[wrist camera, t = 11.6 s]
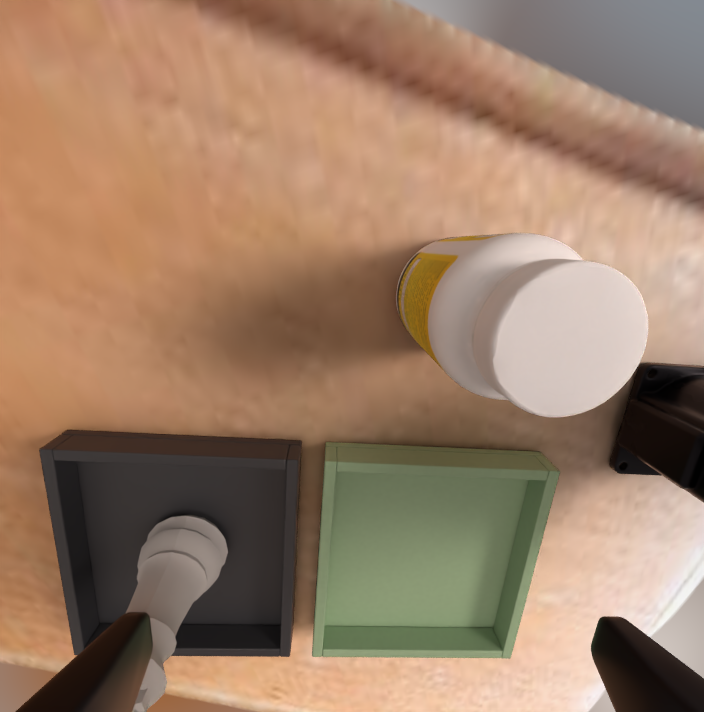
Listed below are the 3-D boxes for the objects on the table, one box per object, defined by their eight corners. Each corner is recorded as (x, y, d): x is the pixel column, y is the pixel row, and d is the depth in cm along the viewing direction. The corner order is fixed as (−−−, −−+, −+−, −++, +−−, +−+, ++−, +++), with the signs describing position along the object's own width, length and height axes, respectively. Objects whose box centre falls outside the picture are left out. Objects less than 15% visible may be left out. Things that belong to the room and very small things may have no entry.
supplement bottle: (423, 365, 19) (508, 476, 10) (375, 272, 18) (421, 300, 9) (518, 315, 19) (702, 382, 9) (476, 215, 17) (645, 177, 8)
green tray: (539, 451, 21) (560, 471, 19) (497, 627, 25) (510, 658, 23) (325, 441, 20) (324, 461, 18) (313, 624, 24) (312, 657, 22)
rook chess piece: (148, 506, 20) (36, 663, 13) (231, 512, 21) (171, 668, 13) (150, 571, 22) (50, 750, 14) (229, 576, 22) (172, 752, 14)
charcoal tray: (301, 440, 20) (298, 460, 18) (293, 624, 24) (290, 657, 22) (67, 429, 19) (38, 449, 18) (95, 621, 23) (73, 655, 21)
